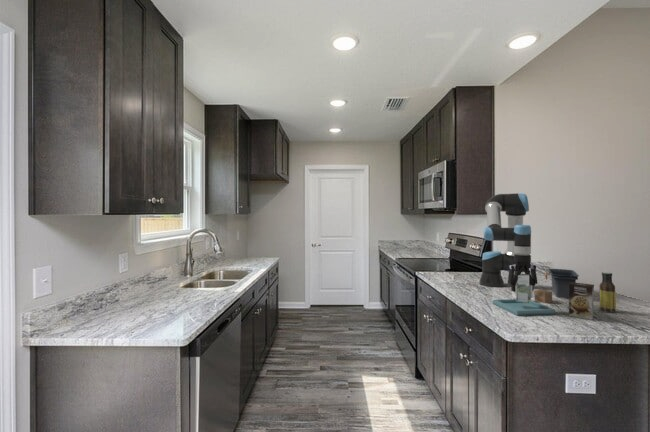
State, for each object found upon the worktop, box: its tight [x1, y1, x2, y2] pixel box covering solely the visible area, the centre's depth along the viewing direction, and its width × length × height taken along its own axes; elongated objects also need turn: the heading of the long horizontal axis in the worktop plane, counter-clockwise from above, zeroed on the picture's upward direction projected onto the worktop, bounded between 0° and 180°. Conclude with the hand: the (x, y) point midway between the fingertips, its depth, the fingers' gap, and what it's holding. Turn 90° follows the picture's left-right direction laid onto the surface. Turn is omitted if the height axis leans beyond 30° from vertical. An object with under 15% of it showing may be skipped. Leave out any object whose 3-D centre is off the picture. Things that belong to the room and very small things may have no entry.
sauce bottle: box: [598, 271, 617, 313], centre depth 164 cm, size 6×6×20 cm
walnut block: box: [534, 289, 553, 304], centre depth 183 cm, size 6×6×6 cm
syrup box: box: [515, 273, 530, 303], centre depth 168 cm, size 6×6×14 cm
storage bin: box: [544, 268, 580, 299], centre depth 196 cm, size 21×16×14 cm
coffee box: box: [568, 281, 595, 321], centre depth 156 cm, size 9×6×16 cm
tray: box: [492, 298, 556, 317], centre depth 168 cm, size 20×20×2 cm
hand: (522, 297), depth 168 cm, fingers closed on syrup box, 8 cm apart
